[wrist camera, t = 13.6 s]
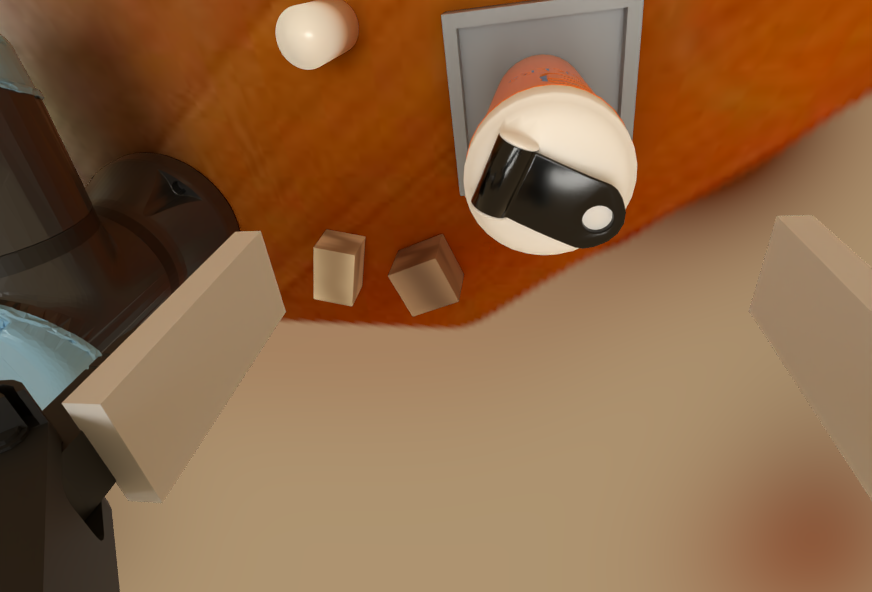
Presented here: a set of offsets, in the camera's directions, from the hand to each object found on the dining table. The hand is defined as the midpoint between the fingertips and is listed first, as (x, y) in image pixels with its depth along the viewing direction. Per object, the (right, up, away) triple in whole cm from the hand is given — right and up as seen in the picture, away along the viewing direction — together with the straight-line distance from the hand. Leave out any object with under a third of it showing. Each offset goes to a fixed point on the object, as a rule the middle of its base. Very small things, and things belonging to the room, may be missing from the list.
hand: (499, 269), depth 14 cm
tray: (+7, +15, +28) cm, 33 cm away
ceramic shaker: (-10, +21, +27) cm, 36 cm away
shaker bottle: (+7, +15, +27) cm, 32 cm away
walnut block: (-2, +3, +38) cm, 38 cm away
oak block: (-11, +3, +39) cm, 41 cm away
